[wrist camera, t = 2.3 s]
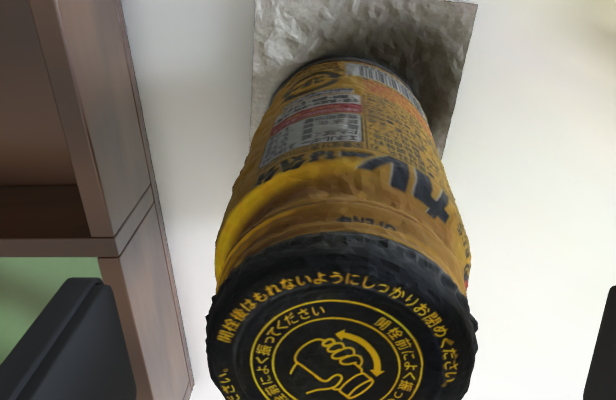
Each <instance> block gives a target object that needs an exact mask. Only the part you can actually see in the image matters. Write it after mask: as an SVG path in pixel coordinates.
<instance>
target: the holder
mask: <svg viewBox="0 0 616 400" xmlns="http://www.w3.org/2000/svg"><path fill="white" fill-rule="evenodd" d="M71 277H98V278H101V279H102V281H103V282H104V285H110V286H111V288H112V290H113V293H114V297H115V301H116V305H117V309H118V314H119V318H120V322H121V326H122V330H123V334H124V338H125V342H126V346H127V350H128V354H129V359H130V363H131V367H132V371H133V375H134V379H135V383H136V389H137V395H136V400H189V399H190V396H191V391H192V390H193V386H194V381H193V376H192V371H191V365H190V360H189V355H188V350H187V345H186V339H185V334H184V329H183V324H182V319H181V313H180V308H179V303H178V298H177V292H176V287H175V282H174V277H173V272H172V266H171V261H170V256H169V251H168V245H167V240H166V235H165V230H164V225H163V219H162V214H161V209H160V204H159V199H158V193H157V188H156V183H155V178H154V172H153V167H152V162H151V157H150V152H149V146H148V141H147V136H146V131H145V126H144V120H143V115H142V110H141V105H140V99H139V94H138V89H137V84H136V79H135V73H134V68H133V63H132V58H131V53H130V47H129V42H128V37H127V32H126V26H125V21H124V16H123V11H122V6H121V0H0V365H1V364H2V362H3V361H4V360H5V359H6V357H7V356H8V355H9V353H10V352H11V351H12V349H13V348H14V347H15V346H16V344H17V343H18V342H19V340H20V339H21V338H22V336H23V335H24V334H25V332H26V331H27V330H28V329H29V327H30V326H31V325H32V323H33V322H34V321H35V319H36V318H37V317H38V316H39V314H40V313H41V312H42V310H43V309H44V308H45V306H46V305H47V304H48V303H49V301H50V300H51V299H52V297H53V296H54V295H55V293H56V292H57V291H58V289H59V288H60V287H61V286H62V284H63V283H64V282H65V281H66V280H67V279H68V278H71Z"/></svg>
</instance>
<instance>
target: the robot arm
mask: <svg viewBox="0 0 616 400" xmlns="http://www.w3.org/2000/svg"><path fill="white" fill-rule="evenodd" d="M136 395H137V389H136V383H135V379H134V375H133V371H132V367H131V363H130V359H129V354H128V350H127V346H126V342H125V338H124V334H123V330H122V326H121V322H120V318H119V314H118V309H117V305H116V301H115V297H114V293H113V290H112V288H111V286H110V285H104V282H103V281H102V279H101V278H98V277H71V278H68V279H67V280H66V281H65V282H64V283H63V284H62V286H61V287H60V288H59V289H58V291H57V292H56V293H55V295H54V296H53V297H52V299H51V300H50V301H49V303H48V304H47V305H46V306H45V308H44V309H43V310H42V312H41V313H40V314H39V316H38V317H37V318H36V319H35V321H34V322H33V323H32V325H31V326H30V327H29V329H28V330H27V331H26V332H25V334H24V335H23V336H22V338H21V339H20V340H19V342H18V343H17V344H16V346H15V347H14V348H13V349H12V351H11V352H10V353H9V355H8V356H7V357H6V359H5V360H4V361H3V362H2V364H1V365H0V400H136ZM583 400H616V286H612V287H611V288H610V290H609V293H608V297H607V301H606V305H605V309H604V313H603V317H602V321H601V325H600V329H599V333H598V337H597V341H596V345H595V349H594V353H593V357H592V361H591V365H590V369H589V373H588V377H587V381H586V385H585V389H584V394H583Z"/></svg>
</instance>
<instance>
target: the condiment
mask: <svg viewBox="0 0 616 400" xmlns="http://www.w3.org/2000/svg"><path fill="white" fill-rule="evenodd" d="M477 7H478V4H471V3H462V2H452V1H446V0H256V4H255V30H254V56H253V70H252V97H251V123H250V145H249V154H248V156H247V157H246V160H245V165H244V167H243V168H242V170H241V171H240V175H239V176H238V178H237V179H236V181H235V183H234V185H233V187H232V197H231V199H230V201H229V204H228V206H227V209H226V212H225V215H224V218H223V221H222V224H221V227H220V230H219V232H218V235H217V239H216V242H215V247H216V248H215V277H216V281H217V287H216V295H214V296H213V297H212V305H211V308H210V310H209V314H208V315H207V316H205V317H206V321H207V326H206V333H207V338H206V340H205V341H206V345H207V346H206V353H207V360H208V367H209V372H210V377H211V379H212V381H213V382H214V384H215V385H216V386H217V387H218V389H219V390H220V391H221V393H222V394H223V396H224V398H225V399H226V400H461V399H462V398H463V396H464V395H465V393H466V392H467V390H468V388H469V384H470V378H471V374H472V371H473V368H474V363H475V354H476V352H477V350H478V344H477V340H476V335H475V332H476V331H477V330H478V322H477V321H476V320H475V318H474V317H473V316H472V315H471V314H470V309H469V305H468V300H467V295H466V290H467V287H468V278H469V272H470V268H471V262H470V261H471V253H470V247H469V241H468V237H467V235H466V232H465V229H464V225H463V223H462V220H461V216H460V214H459V211H458V208H457V205H456V203H455V198H454V197H453V194H452V192H451V189H450V186H449V183H448V180H447V177H446V174H445V171H444V167H443V165H442V162H441V159H442V155H443V151H444V147H445V142H446V138H447V134H448V130H449V126H450V123H451V117H452V114H453V111H454V107H455V103H456V97H457V92H458V88H459V84H460V81H461V75H462V70H463V66H464V62H465V57H466V53H467V50H468V46H469V42H470V38H471V35H472V30H473V25H474V20H475V16H476V12H477Z"/></svg>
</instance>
